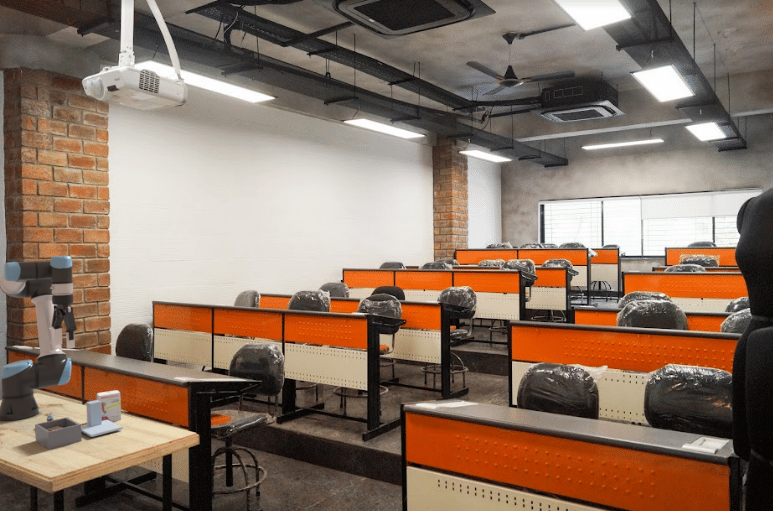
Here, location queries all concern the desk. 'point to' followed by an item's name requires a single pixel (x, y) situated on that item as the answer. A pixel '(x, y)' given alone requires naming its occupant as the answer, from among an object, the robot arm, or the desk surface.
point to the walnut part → (54, 428)
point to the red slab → (50, 418)
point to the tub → (58, 433)
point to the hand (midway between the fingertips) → (64, 346)
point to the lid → (97, 421)
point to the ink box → (110, 405)
